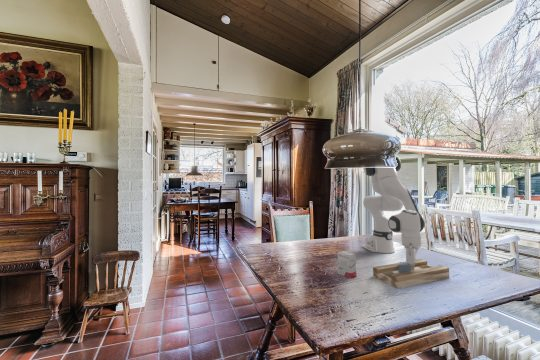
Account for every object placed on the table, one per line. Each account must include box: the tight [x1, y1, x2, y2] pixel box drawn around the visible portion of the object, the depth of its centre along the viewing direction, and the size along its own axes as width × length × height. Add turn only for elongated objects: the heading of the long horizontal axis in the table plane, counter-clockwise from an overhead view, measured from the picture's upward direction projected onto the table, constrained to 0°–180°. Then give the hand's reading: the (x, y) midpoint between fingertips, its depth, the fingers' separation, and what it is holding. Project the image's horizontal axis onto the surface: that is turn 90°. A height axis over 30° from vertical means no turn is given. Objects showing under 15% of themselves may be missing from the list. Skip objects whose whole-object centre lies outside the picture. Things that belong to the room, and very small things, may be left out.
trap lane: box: [372, 258, 450, 289], centre depth 131 cm, size 16×34×5 cm, turn 110°
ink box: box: [336, 250, 357, 279], centre depth 135 cm, size 9×5×12 cm, turn 33°
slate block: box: [398, 261, 411, 273], centre depth 130 cm, size 5×5×4 cm
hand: (412, 269), depth 130 cm, fingers closed, pressing on slate block
